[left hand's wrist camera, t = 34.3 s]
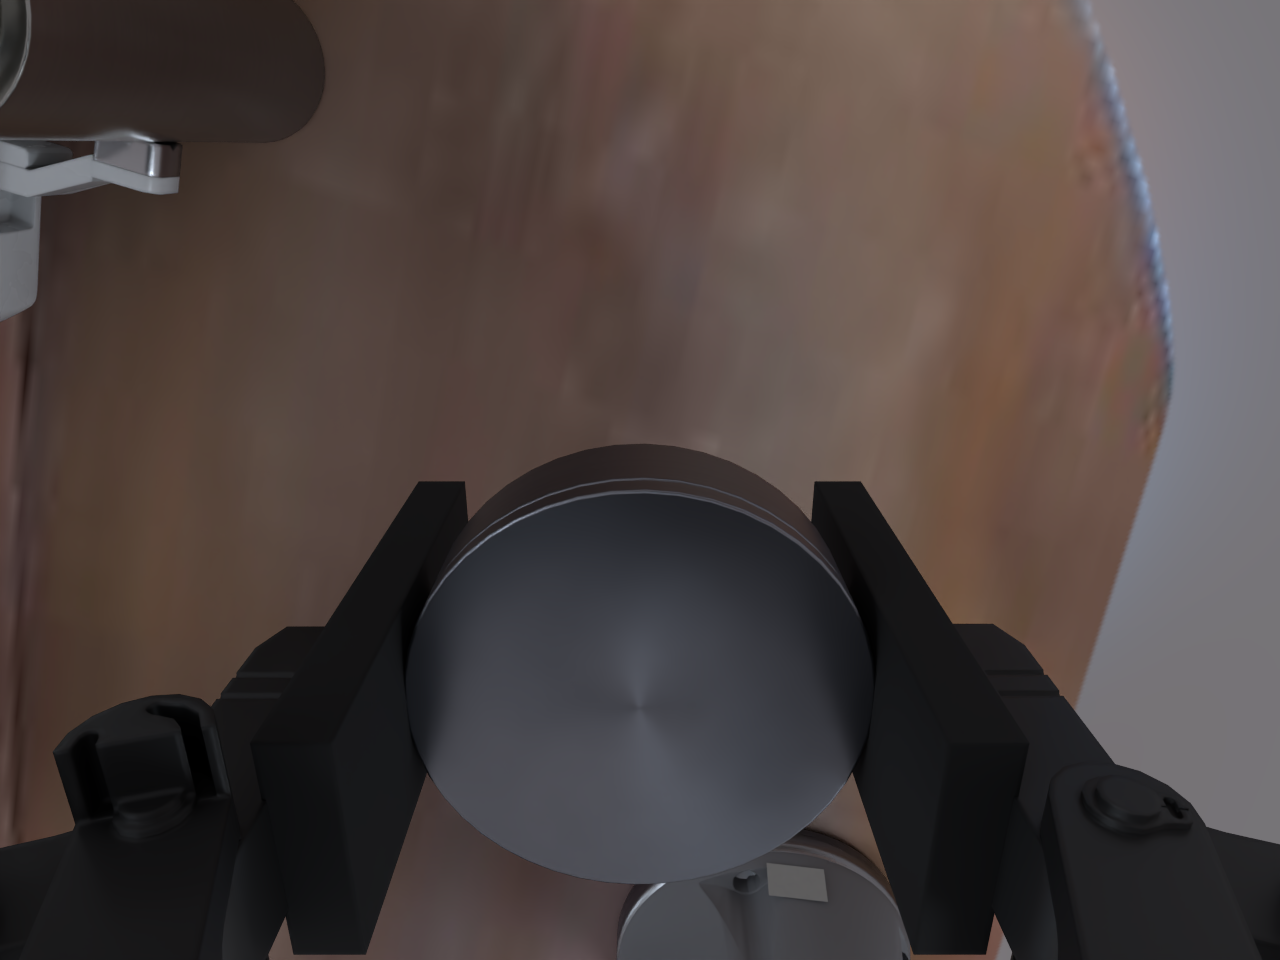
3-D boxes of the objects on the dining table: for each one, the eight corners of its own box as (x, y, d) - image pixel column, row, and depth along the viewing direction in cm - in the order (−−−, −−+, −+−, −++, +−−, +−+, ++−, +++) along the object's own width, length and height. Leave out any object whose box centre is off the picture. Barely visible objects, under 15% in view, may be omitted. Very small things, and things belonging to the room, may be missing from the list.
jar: (149, -6, 30) (-433, -187, 14) (296, -40, 30) (-121, -266, 13) (206, 156, 32) (-244, 165, 16) (344, 126, 31) (32, 105, 15)
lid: (701, 855, 13) (709, 943, 12) (364, 695, 12) (326, 771, 11) (931, 575, 12) (975, 640, 10) (560, 359, 10) (547, 395, 9)
